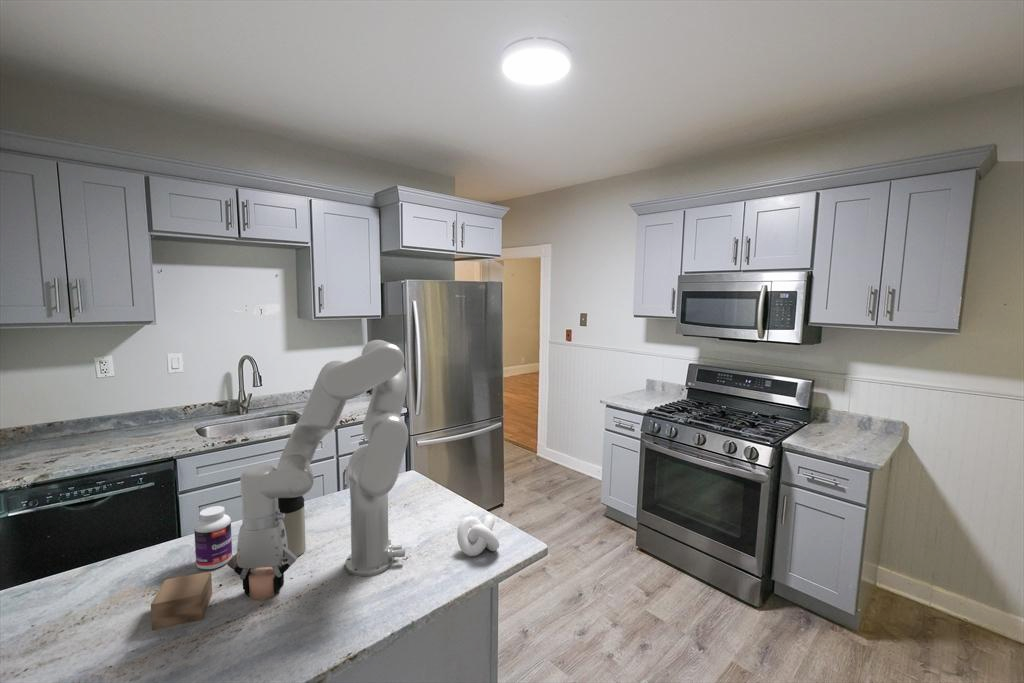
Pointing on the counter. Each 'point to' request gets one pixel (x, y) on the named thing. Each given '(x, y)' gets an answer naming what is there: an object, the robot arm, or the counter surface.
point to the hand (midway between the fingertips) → (263, 589)
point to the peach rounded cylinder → (261, 583)
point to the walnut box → (181, 600)
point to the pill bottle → (213, 538)
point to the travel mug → (294, 523)
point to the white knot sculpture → (477, 535)
